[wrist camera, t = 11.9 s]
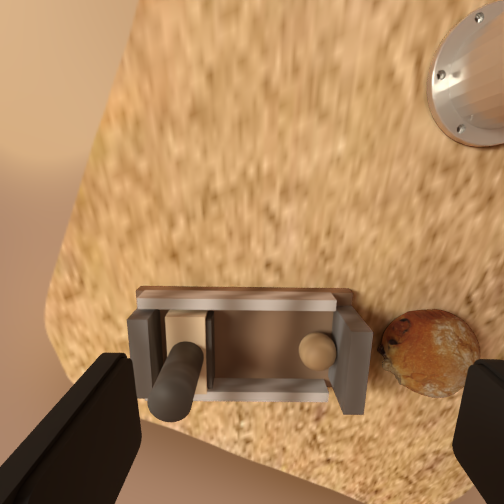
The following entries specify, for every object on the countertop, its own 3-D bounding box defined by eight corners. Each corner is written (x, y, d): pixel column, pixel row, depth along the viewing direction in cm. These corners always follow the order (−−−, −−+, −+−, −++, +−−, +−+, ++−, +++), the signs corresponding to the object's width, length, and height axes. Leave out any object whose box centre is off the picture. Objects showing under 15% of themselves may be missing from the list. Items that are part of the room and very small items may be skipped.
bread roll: (414, 365, 41) (477, 407, 34) (361, 375, 36) (421, 426, 29) (437, 299, 39) (509, 330, 32) (384, 300, 34) (455, 337, 27)
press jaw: (214, 305, 33) (199, 355, 23) (215, 376, 35) (202, 448, 25) (172, 304, 33) (141, 354, 23) (176, 376, 35) (148, 448, 25)
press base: (348, 287, 34) (375, 316, 27) (340, 379, 37) (361, 428, 30) (140, 285, 34) (110, 313, 27) (147, 378, 37) (122, 426, 30)
